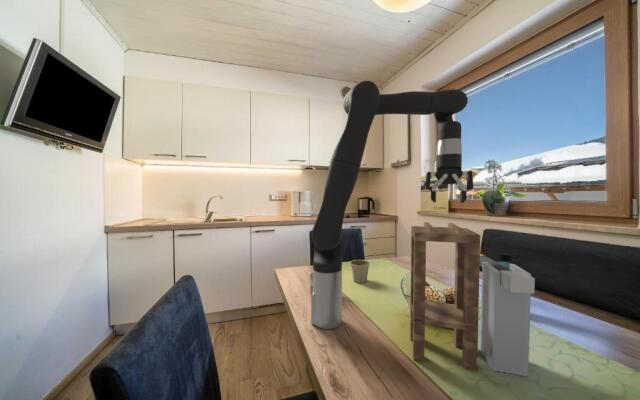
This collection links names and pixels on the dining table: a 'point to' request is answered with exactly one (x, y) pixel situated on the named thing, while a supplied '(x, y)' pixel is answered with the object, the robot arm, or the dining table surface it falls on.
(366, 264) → the flower pot
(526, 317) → the box
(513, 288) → the light grey bar
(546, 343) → the dining table surface
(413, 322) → the walnut stand
